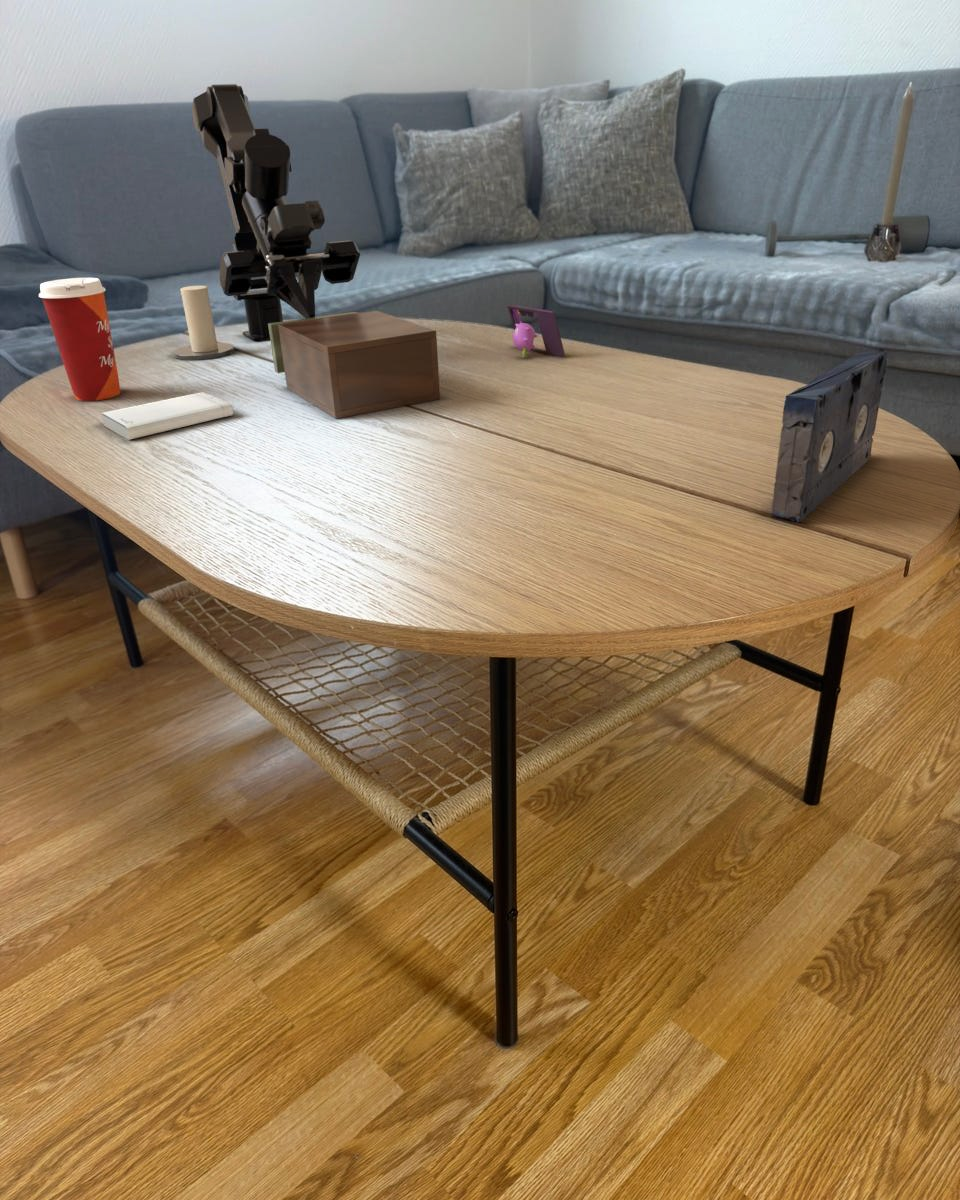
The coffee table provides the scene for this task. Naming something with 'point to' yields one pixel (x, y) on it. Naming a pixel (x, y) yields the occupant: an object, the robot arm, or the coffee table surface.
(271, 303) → the robot arm
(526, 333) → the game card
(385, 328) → the cabinet
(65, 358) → the paper cup
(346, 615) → the coffee table surface
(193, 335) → the candle
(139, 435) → the hard drive
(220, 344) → the coaster
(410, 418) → the coffee table surface
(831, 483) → the vhs cassette tape
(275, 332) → the drawer
